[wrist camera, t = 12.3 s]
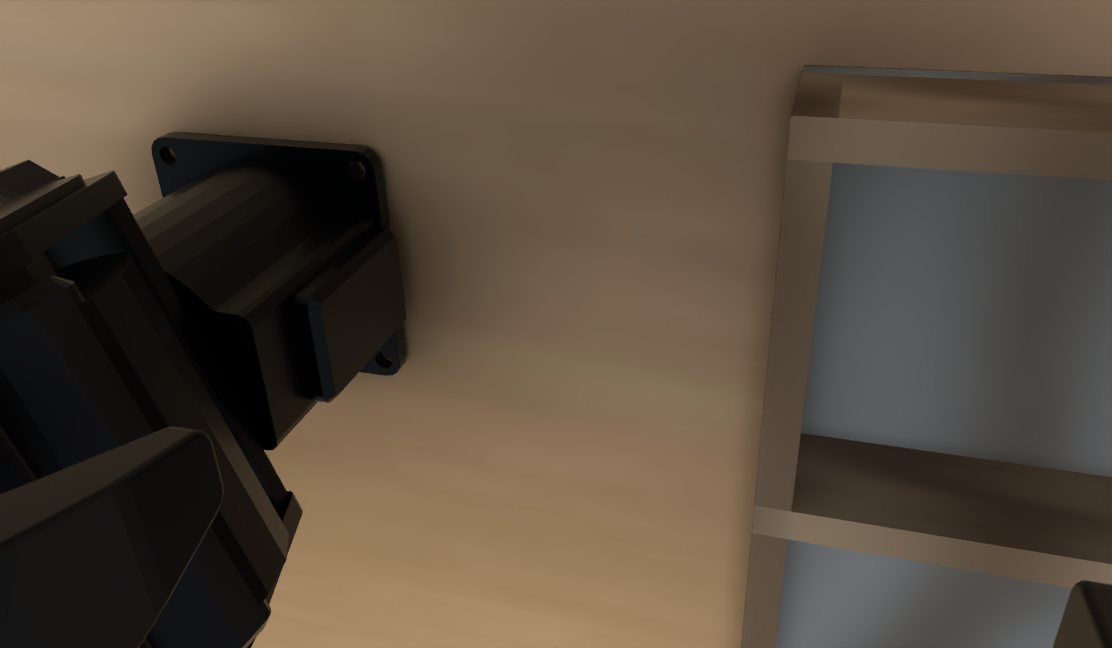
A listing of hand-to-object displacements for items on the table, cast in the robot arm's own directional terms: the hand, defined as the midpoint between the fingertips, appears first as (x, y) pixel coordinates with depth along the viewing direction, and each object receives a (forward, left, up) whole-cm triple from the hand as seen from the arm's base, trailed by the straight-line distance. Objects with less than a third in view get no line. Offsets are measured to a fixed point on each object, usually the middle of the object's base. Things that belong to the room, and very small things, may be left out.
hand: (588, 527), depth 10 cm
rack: (+6, -12, -13) cm, 19 cm away
